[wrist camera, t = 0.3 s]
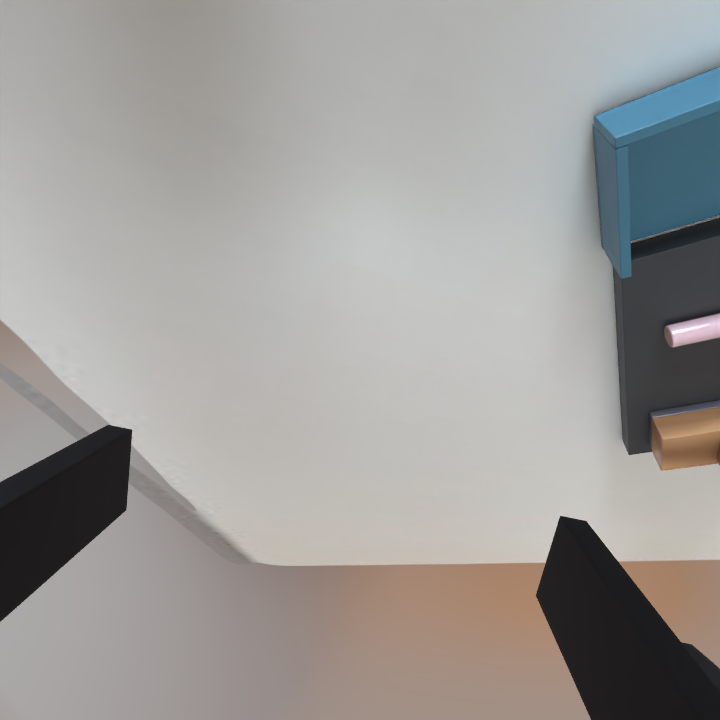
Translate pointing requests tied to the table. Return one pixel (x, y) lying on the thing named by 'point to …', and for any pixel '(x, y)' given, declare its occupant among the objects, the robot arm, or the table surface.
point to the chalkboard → (661, 308)
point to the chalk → (693, 331)
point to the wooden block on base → (686, 435)
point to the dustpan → (658, 164)
